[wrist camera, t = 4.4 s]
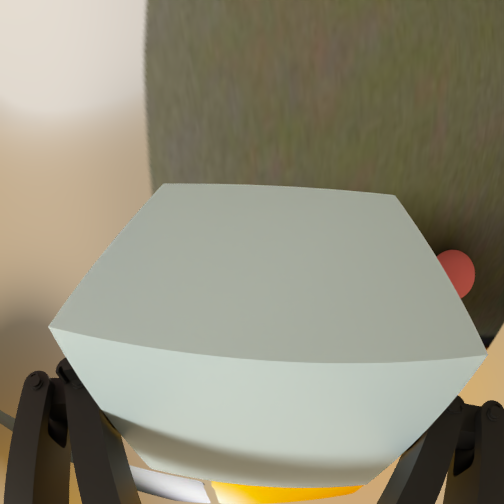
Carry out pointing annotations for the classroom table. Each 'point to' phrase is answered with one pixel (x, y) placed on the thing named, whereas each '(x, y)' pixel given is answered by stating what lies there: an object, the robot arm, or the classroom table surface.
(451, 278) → the ball
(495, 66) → the classroom table surface
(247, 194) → the rounded gray box
